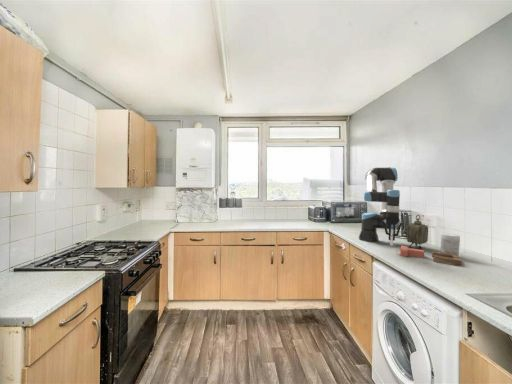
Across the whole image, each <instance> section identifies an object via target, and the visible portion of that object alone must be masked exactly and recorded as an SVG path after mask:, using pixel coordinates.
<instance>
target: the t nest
mask: <svg viewBox="0 0 512 384" xmlns="http://www.w3.org/2000/svg"><path fill="white" fill-rule="evenodd" d="M431 254H432V255H431V257H432V258H433V259H432V260H433V262H434V263H441V264H446V265H452V266H460V267H462V265H463V264H462V263H463V261H462V259H461V257H460V255H459V256H458V255H455V254H448V253H441V251H432V253H431Z"/></svg>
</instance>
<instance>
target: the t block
mask: <svg viewBox="0 0 512 384" xmlns="http://www.w3.org/2000/svg"><path fill="white" fill-rule="evenodd" d="M399 250H400V252H399V255H400V257H406V258H408V256H410V257H414V258H415V257H416V258H422V259H424V258H425V250H424V249H418V248H417V249H416V248H412V247H411V248H410V247H409V246H407V245H401V246H400V249H399Z"/></svg>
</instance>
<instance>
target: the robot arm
mask: <svg viewBox="0 0 512 384" xmlns="http://www.w3.org/2000/svg"><path fill="white" fill-rule="evenodd" d="M398 177H399V176H398V170H397V169H396V168H395V167H373V168H371V169H369V170H368V171H367V172H366V173H365V175H364V180H365V182H366V191H364V192H363V200H364V202H371V203H373V202H375V203H377V202H378V203H381V211H380V212H379V214H378V212H365V213H364V212H363V213H362V215H361V230H360V233H359V235H358V239H359V240H361V241H364V242H368V243H375V242H376V243H377V242H379V241H380V240H379V235H378V233H377V230H378V229H382V230H384V231H385V235H387V236H388V241H390V242H389V245H390V246H393V245H394V241H396V237H398V236H399V234H400V231H401V228H402V227H401V226H402V225H403V224H404V222H403V221H400V196H401V191H400V190H399V189H394V185H395V184H396V182H397V181H398V179H399V178H398ZM377 182H379V183H380V185H381V191H378V186H377ZM397 227H398V228H397ZM396 229H397V230H396Z"/></svg>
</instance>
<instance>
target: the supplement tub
mask: <svg viewBox="0 0 512 384" xmlns="http://www.w3.org/2000/svg"><path fill="white" fill-rule="evenodd" d="M440 237H441V239H440V240H441V242H440V252H441V253H448V254H455V255H458V256H459V257H460V246H461V245H460V244H461V243H460V242H461V240H460V239H461V238H460V237H461V236H460V235H459V234H456V233H451V232H450V233H449V232H442V233H441V236H440Z"/></svg>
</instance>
